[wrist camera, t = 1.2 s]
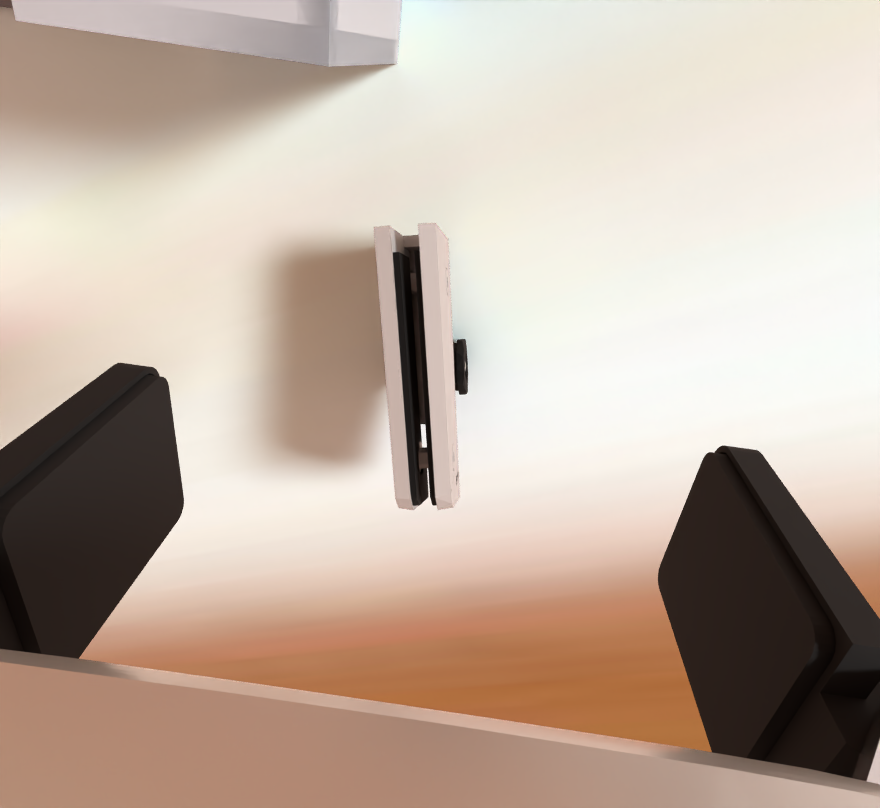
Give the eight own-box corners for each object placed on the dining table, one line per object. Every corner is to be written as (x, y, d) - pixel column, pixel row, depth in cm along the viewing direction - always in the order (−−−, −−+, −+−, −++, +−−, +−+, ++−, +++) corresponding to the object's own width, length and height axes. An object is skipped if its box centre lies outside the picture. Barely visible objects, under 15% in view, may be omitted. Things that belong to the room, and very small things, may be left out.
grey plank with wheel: (399, 250, 37) (412, 482, 39) (360, 227, 27) (380, 538, 29) (463, 246, 36) (473, 481, 38) (448, 221, 26) (462, 537, 29)
